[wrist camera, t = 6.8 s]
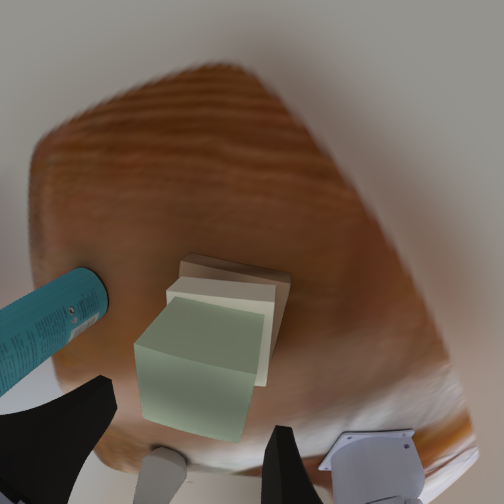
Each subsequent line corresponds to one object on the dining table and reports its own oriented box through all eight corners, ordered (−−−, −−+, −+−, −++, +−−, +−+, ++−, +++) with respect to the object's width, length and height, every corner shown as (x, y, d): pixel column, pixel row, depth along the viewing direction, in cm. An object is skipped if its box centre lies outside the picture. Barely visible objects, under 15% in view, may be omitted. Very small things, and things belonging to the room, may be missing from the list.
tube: (74, 245, 20) (-112, 339, 1) (115, 270, 20) (-83, 412, 1) (67, 312, 22) (-67, 420, 3) (104, 337, 22) (-26, 474, 3)
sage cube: (264, 314, 14) (256, 374, 9) (250, 382, 16) (239, 443, 11) (175, 296, 14) (133, 343, 10) (173, 364, 16) (143, 418, 11)
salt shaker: (172, 441, 25) (136, 526, 12) (200, 465, 26) (175, 544, 13) (140, 444, 26) (103, 516, 13) (167, 466, 27) (140, 535, 14)
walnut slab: (289, 271, 19) (291, 283, 16) (269, 352, 21) (267, 371, 18) (192, 251, 19) (180, 260, 17) (184, 333, 21) (173, 349, 18)
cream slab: (275, 285, 16) (274, 302, 14) (268, 363, 18) (265, 386, 15) (181, 276, 17) (166, 290, 15) (185, 352, 18) (174, 373, 16)
